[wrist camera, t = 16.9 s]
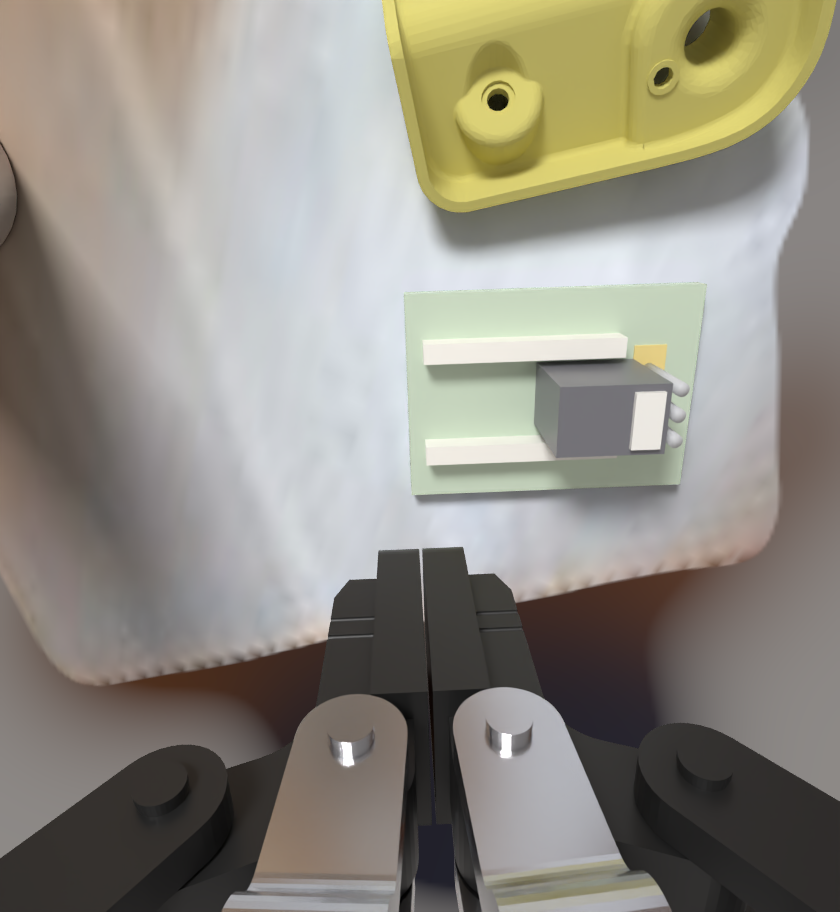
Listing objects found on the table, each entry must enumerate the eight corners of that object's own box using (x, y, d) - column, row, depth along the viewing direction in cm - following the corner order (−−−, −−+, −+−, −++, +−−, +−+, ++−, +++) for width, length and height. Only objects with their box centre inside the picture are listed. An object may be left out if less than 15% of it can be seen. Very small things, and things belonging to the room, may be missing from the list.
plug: (533, 423, 39) (557, 460, 34) (536, 361, 38) (561, 388, 32) (626, 420, 40) (666, 456, 34) (633, 358, 38) (675, 384, 32)
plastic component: (427, 221, 34) (380, 7, 27) (419, 165, 39) (378, -28, 32) (804, 133, 32) (867, -129, 24) (745, 85, 36) (782, -144, 29)
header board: (411, 487, 42) (413, 530, 36) (404, 292, 37) (404, 306, 32) (672, 477, 42) (715, 518, 37) (697, 282, 38) (751, 294, 32)
